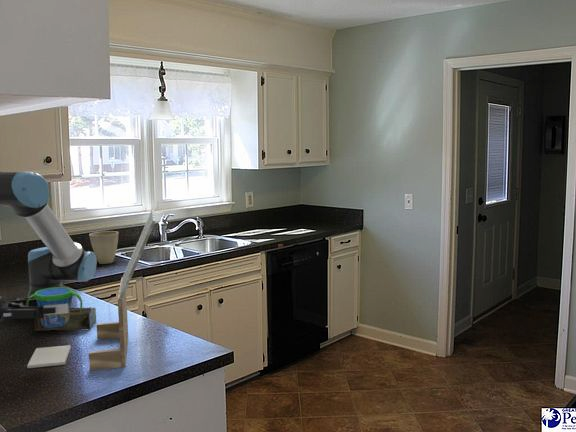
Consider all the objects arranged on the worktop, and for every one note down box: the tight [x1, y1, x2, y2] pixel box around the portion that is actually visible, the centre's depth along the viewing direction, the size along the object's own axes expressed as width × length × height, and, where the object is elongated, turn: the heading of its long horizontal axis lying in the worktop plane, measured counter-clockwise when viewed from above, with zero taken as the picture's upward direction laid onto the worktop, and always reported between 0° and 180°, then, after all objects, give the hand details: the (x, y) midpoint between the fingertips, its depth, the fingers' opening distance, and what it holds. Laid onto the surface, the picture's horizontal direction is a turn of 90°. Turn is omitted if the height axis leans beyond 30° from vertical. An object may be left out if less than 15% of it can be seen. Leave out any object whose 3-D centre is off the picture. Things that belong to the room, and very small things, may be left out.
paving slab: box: [26, 344, 72, 369], centre depth 168 cm, size 14×10×1 cm
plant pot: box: [89, 230, 119, 265], centre depth 299 cm, size 15×15×16 cm
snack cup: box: [26, 286, 83, 328], centre depth 166 cm, size 16×10×10 cm
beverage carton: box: [33, 307, 97, 332], centre depth 195 cm, size 8×19×7 cm, turn 93°
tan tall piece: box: [88, 209, 156, 371], centre depth 170 cm, size 27×20×42 cm
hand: (70, 303), depth 167 cm, fingers closed on snack cup, 9 cm apart
